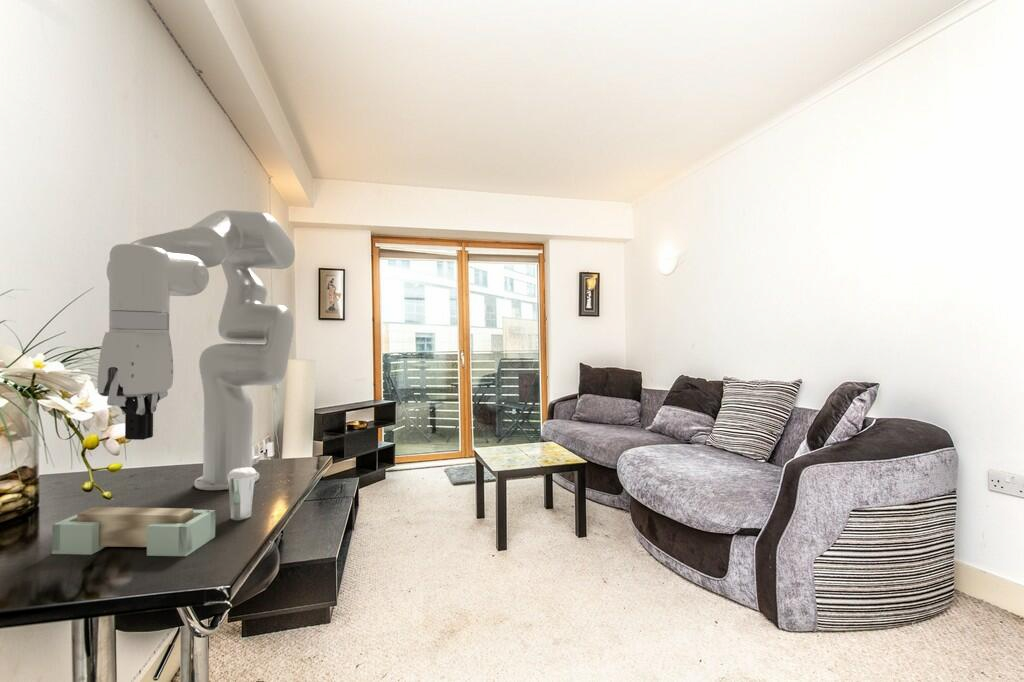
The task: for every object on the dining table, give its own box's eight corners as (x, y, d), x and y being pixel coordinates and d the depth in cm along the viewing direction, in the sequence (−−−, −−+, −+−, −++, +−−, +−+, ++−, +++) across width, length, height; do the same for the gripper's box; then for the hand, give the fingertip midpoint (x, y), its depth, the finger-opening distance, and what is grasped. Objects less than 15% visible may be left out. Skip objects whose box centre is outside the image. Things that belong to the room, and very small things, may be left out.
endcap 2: (215, 536, 78) (215, 510, 78) (186, 556, 71) (186, 526, 71) (179, 536, 78) (179, 509, 78) (146, 555, 71) (147, 526, 71)
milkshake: (256, 509, 90) (257, 458, 90) (254, 519, 85) (255, 465, 85) (228, 513, 88) (229, 460, 88) (225, 523, 83) (226, 467, 83)
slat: (76, 545, 73) (77, 513, 73) (94, 537, 76) (94, 506, 76) (179, 547, 73) (180, 515, 73) (192, 539, 76) (193, 508, 76)
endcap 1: (52, 553, 71) (52, 524, 71) (92, 534, 78) (93, 507, 78) (91, 554, 71) (91, 525, 71) (128, 535, 78) (129, 508, 78)
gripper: (152, 324, 82) (151, 428, 82) (72, 322, 67) (71, 449, 67) (195, 325, 82) (194, 429, 82) (125, 323, 67) (124, 450, 67)
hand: (139, 438), depth 75 cm, fingers closed
